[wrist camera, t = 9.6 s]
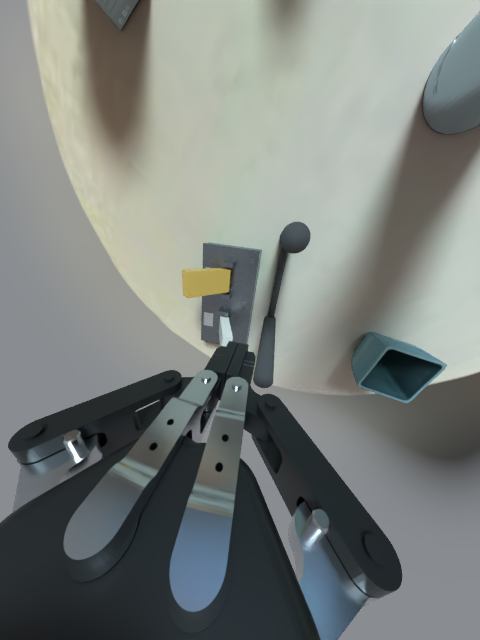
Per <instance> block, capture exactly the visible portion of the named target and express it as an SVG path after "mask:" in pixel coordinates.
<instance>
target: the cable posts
mask: <svg viewBox="0 0 480 640" xmlns="http://www.w3.org/2000/svg"><path fill="white" fill-rule="evenodd" d="M309 241H310V231H309V228H308V227H307V226H306V225H305V224H304V223H301V222H293V223H291V224H289V225H287V226H286V227H285V228H284V230H283V231H282V233H281V235H280V242H281V245H282V247H281V252H280V257H279V262H278V267H277V272H276V277H275V282H274V287H273V292H272V297H271V302H270V307H269V312H268V315H267V316H266V317H265V318H264V323H263V329H262V334H261V340H260V345H259V351H258V356H257V361H256V367H255V372H254V378H253V380H254V383H255V384H256V385H257V386H258V387H262V388H268V387H270V386H271V385H272V384H273V370H274V346H275V323H276V319H275V317H274V313H275V308H276V304H277V299H278V294H279V290H280V285H281V280H282V276H283V271H284V266H285V262H286V257H287V252H289V253H298V252H301V251H302V250H304V249H305V248H306V247H307V245H308V243H309Z"/></svg>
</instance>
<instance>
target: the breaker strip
mask: <svg viewBox="0 0 480 640" xmlns="http://www.w3.org/2000/svg"><path fill="white" fill-rule="evenodd" d="M261 251H262V250H259V249H252V248H244V247H237V246H230V245H222V244H215V243H203V269H208V268H227V269H230V270H231V273H230V284H229V292H227V293H220V294H213V295H206V296H202V329H201V340H203V341H208V342H213V343H218V344H220V341H219V323H220V315H222V316H228V317H229V322H230V326H231V331H232V335H233V342H237V343H242V344H247V341H248V335H249V328H250V322H251V315H252V309H253V302H254V296H255V290H256V283H257V277H258V270H259V264H260V257H261Z"/></svg>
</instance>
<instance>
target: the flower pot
mask: <svg viewBox="0 0 480 640" xmlns="http://www.w3.org/2000/svg"><path fill="white" fill-rule="evenodd" d="M351 365H352V370H353V374H354V377H355V380H356V383H357V386H358V387H360V388H363V389H366V390H369V391H372V392H375V393H378V394H381V395H383V396H386V397H389V398H392V399H395V400H398V401H401V402H404V403H409V402H410V401H411V400H413V399H414V398H415V397H416V396H417V395H418V394H419V393H420V392H421V391H422V390H423V389H424V388H425V387H426V386H427V385H428V384H429V383H430V382H431V381H432V380H434V379H435V378H436V377H437V376H438V375H439V374H440V373H441V372H442V371H443V370H444V369H445V368H446V366H447V365H446V364H445V363H443V362H442V361H440V360H438V359H437V358H435V357H433V356H432V355H430V354H428V353H427V352H425V351H423V350H422V349H420V348H418V347H416V346H413V345H411V344H408V343H405V342H402V341H399V340H396V339H392V338H389V337H386V336H383V335H380V334H377V333H374V332H369V333H367V335H366V336H365V338H364V339H363V340H362V342H361V343H360V345H359V346H358V348H357V349H356V350H355V352H354V354H353V357H352V362H351Z"/></svg>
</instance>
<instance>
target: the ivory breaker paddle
mask: <svg viewBox="0 0 480 640" xmlns="http://www.w3.org/2000/svg"><path fill="white" fill-rule="evenodd" d="M219 341H220V346H225V347H226V346H227V344H228V342H229V341H233V335H232V331H231V326H230V322H229V317H228V316H222V315H220V323H219Z"/></svg>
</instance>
